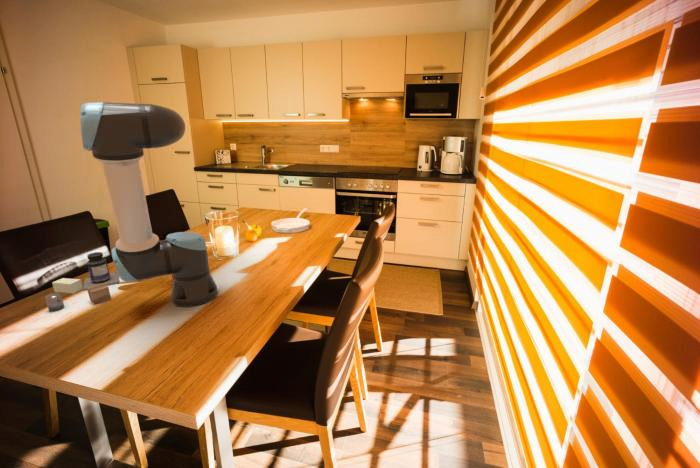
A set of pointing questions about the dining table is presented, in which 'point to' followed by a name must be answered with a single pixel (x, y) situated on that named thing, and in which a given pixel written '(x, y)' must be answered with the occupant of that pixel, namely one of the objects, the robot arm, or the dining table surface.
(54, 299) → the grey rounded block
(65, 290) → the sage block
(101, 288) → the walnut cube
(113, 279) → the mat
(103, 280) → the pill bottle
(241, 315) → the dining table surface
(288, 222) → the pan
